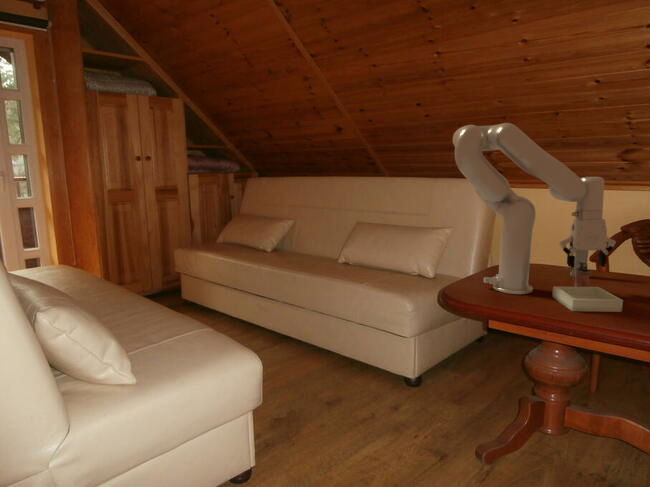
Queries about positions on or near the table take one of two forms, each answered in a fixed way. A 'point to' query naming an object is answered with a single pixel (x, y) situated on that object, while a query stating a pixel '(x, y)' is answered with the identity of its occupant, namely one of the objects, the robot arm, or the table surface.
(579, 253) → the vintage mobile phone
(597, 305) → the tray
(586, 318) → the table surface
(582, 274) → the lighter
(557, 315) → the table surface
